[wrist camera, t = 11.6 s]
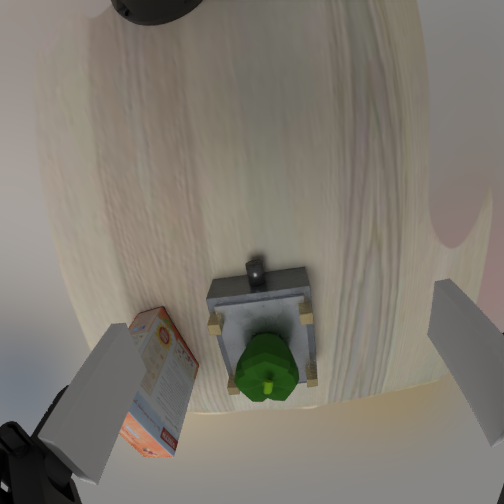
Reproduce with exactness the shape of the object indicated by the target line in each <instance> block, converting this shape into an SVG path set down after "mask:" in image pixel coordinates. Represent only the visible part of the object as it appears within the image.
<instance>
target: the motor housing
mask: <svg viewBox="0 0 504 504" xmlns="http://www.w3.org/2000/svg"><path fill="white" fill-rule="evenodd" d="M245 266H246V271H247V275H243V276H236V277H228V278H220V279H213V281H212V284H211V287H210V289H209V292H208V295H207V298H206V301H207V305H208V308H209V312H210V318H209V321H208V324H207V327H208V330H209V334H210V335H216V336H217V339H218V343H219V346H220V349H221V352H222V356H223V359H224V362H225V365H226V369H227V372H228V375H229V380H228V386H227V389H228V392H229V395H234V394H240V390H239V389H238V388H237V386H236V384H235V382H234V378H235V372H236V366H237V362H238V360H239V359H240V357H241V355H242V353H243V351H244V350H245V348H246V346H247V345H248V343H249V342H250V341H251V340H252V339H253V338H254V337H256V336H257V335H259V334H264V333H269V334H275V335H277V336H278V337H279V338H281V339H282V340H283V341H284V342H285V344H286V345H287V346H288V347H289V349H290V350H291V352H292V355H293V357H294V359H295V362H296V364H297V367H298V371H299V381H298V383H306V382H307V387H314V386H318V379H317V365H316V351H315V338H314V326H313V313H312V304H311V293H310V285H309V281H308V277H307V273H306V269H305V267H300V268H293V269H286V270H279V271H272V272H264V266H263V261H262V260H251V261H249V262H247V263H246V264H245ZM298 383H297V384H298Z"/></svg>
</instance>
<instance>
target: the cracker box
mask: <svg viewBox="0 0 504 504" xmlns="http://www.w3.org/2000/svg"><path fill="white" fill-rule="evenodd" d="M128 330H129V332H130V334H131V337H132V339H133V341H134V343H135V346H136V348H137V350H138V352H139V354H140V356H141V358H142V360H143V363H144V365H145V367H146V369H147V371H146V373H145V375H144V377H143V380H142V382H141V384H140V386H139V388H138V391H137V393H136V395H135V397H134V400H133V402H132V404H131V406H130V409H129V411H128V413H127V416H126V418H125V420H124V422H123V425H122V427H121V429H120V432H119V434H120V435H122V437H123V438H124V439H125V440H127V441H128V442H129V443H130V444H131V445H132V446H133V447H134V448H135V449H136V450H137V451H138V452H139V453H140V454H142V455H143V456H145V457H174V454H175V451H176V447H177V443H178V439H179V436H180V432H181V429H182V424H183V421H184V418H185V414H186V410H187V407H188V403H189V400H190V396H191V392H192V389H193V385H194V382H195V378H196V375H197V371H198V368H199V365H198V363H197V361H196V360H195V358H194V357H193V355H192V354H191V352H190V351H189V349H188V347H187V346H186V344H185V343H184V341H183V339H182V338H181V336H180V334H179V333H178V331H177V330H176V328H175V326H174V325H173V323H172V321H171V320H170V318H169V316H168V314H167V313H166V311H165V309H164V308H163V307H160V308H157V309H153V310H150V311H146V312H143V313H139V314H137V316H136V318H135V319H134V321H133V322H132V324H131V325H130V327H129V328H128Z"/></svg>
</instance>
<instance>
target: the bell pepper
mask: <svg viewBox="0 0 504 504" xmlns="http://www.w3.org/2000/svg"><path fill="white" fill-rule="evenodd" d="M298 381H299V371H298V367H297V364H296V362H295V359H294V357H293V355H292V352H291V350H290V349H289V347H288V346H287V345H286V344H285V342H284V341H283V340H282V339H281V338H279V337H278V336H277V335H275V334H269V333H264V334H259V335H257V336H256V337H254V338H253V339H252V340H251V341H250V342H249V343H248V345H247V346H246V348H245V350H244V351H243V353H242V355H241V357H240V359H239V360H238V362H237V366H236V372H235V378H234V382H235V384H236V386H237V388H238V389H239V390H240V391H241V392H242V393H243V394H245V395H246V396H247V397H248V398H249V399H250V400H251V401H253V402H263V401H264V400H265V399H267V398H269V399H272V400H279V401H285V400H286V399H287V397H288V396H289V395H290V394H291V393H292V391H293V390H294V388H295V387H296V385H297V383H298Z"/></svg>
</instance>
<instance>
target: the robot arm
mask: <svg viewBox="0 0 504 504" xmlns="http://www.w3.org/2000/svg"><path fill="white" fill-rule="evenodd" d="M201 1H202V0H111V2H112V5H113V7H114V8H115V10H116V11H117V12H118V13H119V14H120V15H121V16H122V17H124V18H125V19H127V20H128V21H130V22H132V23H135V24H138V25H148V26H150V25H159V24H164V23H167V22H170V21H173V20H176V19H178V18H180V17H182V16H184V15H185V14H187V13H188V12H190V11H191V10H193V9H194V8H195V7H196V6H197V5H198V4H199V3H200V2H201ZM427 335H428V337H429V338H430V340H431V341H432V343H433V344H434V346H435V347H436V349H437V351H438V352H439V354H440V355H441V357H442V359H443V360H444V362H445V363H446V365H447V367H448V368H449V370H450V372H451V373H452V375H453V376H454V378H455V380H456V382H457V384H458V385H459V387H460V389H461V390H462V392H463V394H464V396H465V398H466V399H467V401H468V403H469V405H470V407H471V408H472V410H473V412H474V414H475V416H476V418H477V420H478V422H479V424H480V426H481V427H482V429H483V431H484V433H485V435H486V437H487V439H488V441H489V443H490V446H491V447H494V446H496V445H498V444H500V443H502V442H504V333H501V332H500V331H499V329H498V328H497V327H496V326H495V325H494V324H493V323H492V322H491V321H490V319H489V318H488V317H487V316H486V315H485V314H484V313H483V312H482V311H481V310H480V309H479V308H478V307H477V306H476V305H475V303H474V302H473V301H472V300H471V299H470V298H469V297H468V296H467V295H466V294H465V293H464V292H463V291H462V290H461V289H460V288H459V287H458V286H457V285H456V284H455V283H454V282H453V281H452V280H451V279H450V278H449V279H445V280H440V281H435V284H434V293H433V301H432V309H431V316H430V322H429V328H428V334H427ZM146 371H147V369H146V367H145V365H144V363H143V360H142V358H141V356H140V354H139V352H138V350H137V348H136V346H135V343H134V341H133V339H132V337H131V334H130V332H129V330H128V328H127V325H126V323H117V324H111V325H110V327H109V328H108V329H107V331H106V332H105V334H104V335H103V336H102V338H101V339H100V341H99V342H98V344H97V345H96V346H95V348H94V349H93V351H92V352H91V354H90V355H89V357H88V358H87V359H86V361H85V362H84V364H83V365H82V367H81V368H80V370H79V371H78V373H77V374H76V376H75V377H74V379H73V380H72V382H71V383H70V385H67V386H66V387H65V388H64V389H63V390H61V391H60V392H59V393H58V394H57V396H56V398H55V399H54V401H53V404H51V405H50V407H49V408H48V412H47V411H46V413H45V414H44V417H43V418H42V419H41V421H40V423H39V424H38V426H37V427H36V429H35V431H34V432H33V434H32V436H31V437H29V435H28V434H27V433H26V432H25V431H24V430H23V429H22V427H21V426H20V425H19V424H18V423H17V422H14V421H10V422H7V423H5V424H3V425H2V426H1V427H0V504H82V503H81V500H80V497H79V494H78V491H77V488H76V485H75V483H74V481H73V479H71V475H72V473H74V474H75V475H76V476H77V477H79V478H80V479H81V480H82V481H86V482H89V483H92V484H96V485H98V483H99V480H100V478H101V475H102V473H103V470H104V468H105V465H106V463H107V460H108V458H109V456H110V453H111V451H112V448H113V446H114V444H115V441H116V439H117V437H118V434H119V432H120V429H121V427H122V425H123V422H124V420H125V418H126V416H127V413H128V411H129V409H130V406H131V404H132V402H133V400H134V397H135V395H136V393H137V391H138V388H139V386H140V384H141V382H142V380H143V377H144V375H145V373H146ZM1 481H2V482H3V483H4V484H5V485H6V486H8V492H6V491H5V490H3V489H2V488H1ZM497 504H504V485H503V488H502V491H501V494H500V497H499V500H498V502H497Z"/></svg>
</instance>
